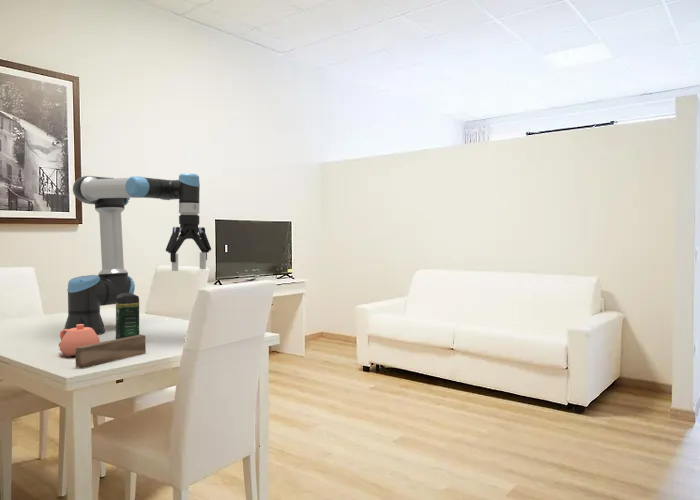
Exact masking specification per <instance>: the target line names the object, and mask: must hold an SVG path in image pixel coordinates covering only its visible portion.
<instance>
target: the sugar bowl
mask: <svg viewBox="0 0 700 500" xmlns="http://www.w3.org/2000/svg"><path fill="white" fill-rule="evenodd" d="M76 327H77V328H71V329H64V328H63V329H62V330H61V331H60V332H59V338H60V342H58V347H59V351H60V352H61V353H62V354H63V355H65V357H72V356H73V357H74V356H75V357H76V347H81V346H85V345H90V344H95V343H100V342H101V339H100V338H99V335H97V334H96V333H95V331H94V330H93V329H92V328H90V327H84V324H77V325H76ZM65 331H67V332H66V333H65V335H64V332H65Z"/></svg>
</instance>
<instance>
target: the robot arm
mask: <svg viewBox="0 0 700 500" xmlns="http://www.w3.org/2000/svg"><path fill="white" fill-rule="evenodd" d="M200 187H201V185H200V176H199V175H198V174H196V173H186V172H185V173H180V174H179V175H178V179H172V180H171V179H163V178H151V177H147V176H146V177H145V176H144V177H143V176H140V175H139V176H138V175H136V176H135V175H132V176H130V177H119V178H114V177H104V176H92V175H84V176H81V177H79V178H77V179H76V180H75V181H74V182H73V185H72V192H73V193H72V194H73V196H74V197H75V198H76V199H77V200H78V201H80V202H81V203H83V204H88V205H94V210H95V211H96V212H97V213H98V215H99V217H98V219H99V232H100V233H99V235H100V236H99V237H100V254H101V257H100V258H101V270H100V271H99V272H98V274H89V275H80V276H77V277H73V278H70V280H69V281H68V283H67V291H66V292H67V313H68V314H67V318H66V321H65V325H64V328H63V330H64V329H71V328H77V327H76V325H77V324H84V327H90V328H92V329H93V330H94V331H95V333H96V334H97V336H99V335H101V334H104V333H106V328H105V327H106V326H105V324H104V321H103V318H102V316H101V307H103V306H111V305H116V296H117V295H119V294H120V293H132V294H134V295H135V288H136V287H135V286H136V285H135V281H134V280H133V279H134V278H132V277H131V276H130V275H129V272H128V270H126V268H125V266H124V265H125V263H124V262H125V261H124V247H123V245H124V244H123V227H122V226H123V225H122V224H123V223H122V212H124V210H125V206H127V205H128V204H129V200H130V199H132V198H133V199H134V198H136V199H137V198H138V199H140V198H141V199H143V198H145V199H158V200H159V199H160V200H162V201H171V200H173V201H174V200H178V213H179V215H178V225H179V226H173V227H172V233H171V235H170V238H169V240H168V243H167V245H166V248H165V252H168V254H170V255H169V256H170V257H169V258H170V259H169V261H170V263H171V271H172V272H178V271H179V253H178V251H179V249H180V248H181V246H182V245H183V243H184V242H185V240H188V239H189V240H193V241H194V242H195V244H196V245H197V247H198V249H199V250H200V252H199V269H200V270H206V269H207V260H208V253H209V252H211V251H212V247H211V244H210V242H209V239H208V237H207V233H206V227H204V226H203V227H201V226H200V227H199V225H200V215H199V214H200ZM66 332H67V331H65V332H64V335H65V333H66Z"/></svg>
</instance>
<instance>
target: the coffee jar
mask: <svg viewBox="0 0 700 500" xmlns="http://www.w3.org/2000/svg"><path fill="white" fill-rule="evenodd" d="M135 335H140V296H139V295H136V294H135V293H134V294H132V293H120V294H119V295H117V296H116V304H115V339H120V338H125V337H130V336H135Z"/></svg>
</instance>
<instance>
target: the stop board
mask: <svg viewBox="0 0 700 500" xmlns="http://www.w3.org/2000/svg"><path fill="white" fill-rule="evenodd" d="M146 336H147V335H145V334H139V335H135V336H130V337H125V338H120V339H116V338H115V339H112V340H107V341H100V343H95V344H90V345H85V346H81V347H76V356H75V368H78V367H79V369H85V368H89V366H90V367H93V365H94V366H99V365H101V364H106V363H109V362H110V363H111V362H113V361H114V362H115V361H117V360H118V361H119V360H123V359H126V358H130V357H134V356H139V355H143V354H146V350H147V349H146V347H147V346H146V345H147V344H146V342H147V341H146V340H147V339H146ZM84 367H85V368H84Z"/></svg>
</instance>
